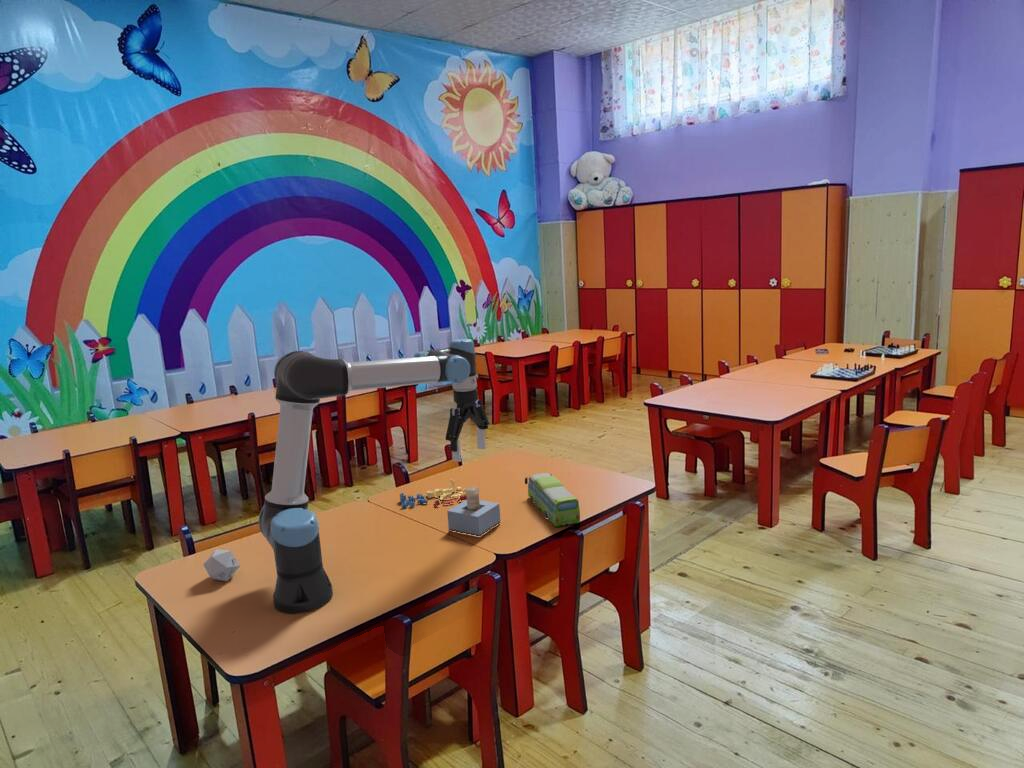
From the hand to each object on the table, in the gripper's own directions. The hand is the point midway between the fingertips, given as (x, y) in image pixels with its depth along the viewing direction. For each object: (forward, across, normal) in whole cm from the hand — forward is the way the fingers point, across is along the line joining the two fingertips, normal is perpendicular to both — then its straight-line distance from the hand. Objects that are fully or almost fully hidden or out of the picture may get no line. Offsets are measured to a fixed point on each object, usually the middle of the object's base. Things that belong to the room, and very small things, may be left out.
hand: (469, 454), depth 220 cm
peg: (+24, 0, 0) cm, 24 cm away
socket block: (+25, 0, 0) cm, 25 cm away
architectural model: (+25, +22, +21) cm, 40 cm away
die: (+25, -60, +46) cm, 79 cm away
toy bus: (+25, +23, -16) cm, 38 cm away
